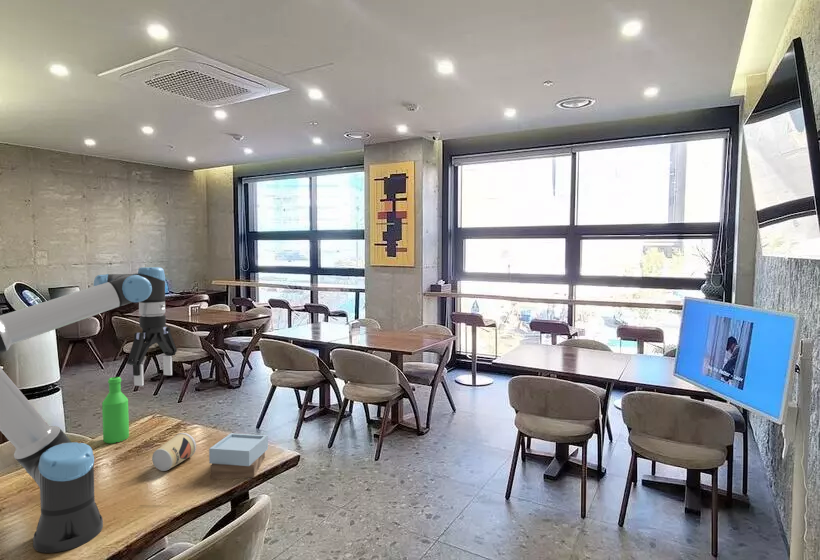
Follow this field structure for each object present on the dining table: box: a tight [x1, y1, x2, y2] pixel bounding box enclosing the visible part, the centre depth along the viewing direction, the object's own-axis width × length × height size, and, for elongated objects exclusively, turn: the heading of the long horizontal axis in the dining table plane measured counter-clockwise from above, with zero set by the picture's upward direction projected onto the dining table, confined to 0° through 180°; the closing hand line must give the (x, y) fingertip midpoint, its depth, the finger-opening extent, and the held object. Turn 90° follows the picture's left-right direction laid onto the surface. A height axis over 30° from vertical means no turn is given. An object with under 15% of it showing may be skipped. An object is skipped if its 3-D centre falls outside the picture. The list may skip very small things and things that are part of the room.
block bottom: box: [210, 451, 266, 480], centre depth 163 cm, size 14×14×5 cm
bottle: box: [101, 376, 130, 444], centre depth 188 cm, size 9×9×25 cm
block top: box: [208, 432, 269, 466], centre depth 163 cm, size 14×14×5 cm
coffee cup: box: [151, 432, 197, 472], centre depth 167 cm, size 9×9×12 cm
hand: (154, 380), depth 155 cm, fingers open, 13 cm apart
